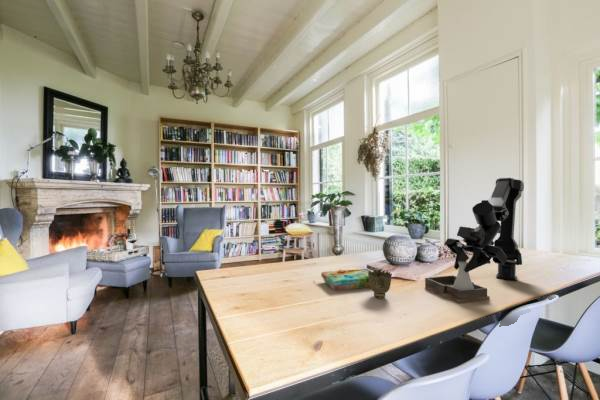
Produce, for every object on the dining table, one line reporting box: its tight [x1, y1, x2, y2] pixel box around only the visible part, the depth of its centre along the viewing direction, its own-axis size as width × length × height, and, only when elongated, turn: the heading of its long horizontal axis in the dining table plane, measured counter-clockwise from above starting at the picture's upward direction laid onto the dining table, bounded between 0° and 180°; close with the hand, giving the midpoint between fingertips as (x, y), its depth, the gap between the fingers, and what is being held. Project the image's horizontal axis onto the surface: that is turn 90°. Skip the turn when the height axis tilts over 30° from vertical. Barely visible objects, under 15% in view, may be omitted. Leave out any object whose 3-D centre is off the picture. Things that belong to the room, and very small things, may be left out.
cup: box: [368, 269, 393, 299], centre depth 93 cm, size 8×7×8 cm
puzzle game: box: [321, 268, 374, 291], centre depth 106 cm, size 12×5×20 cm
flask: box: [453, 261, 474, 291], centre depth 93 cm, size 7×7×10 cm
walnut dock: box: [424, 274, 491, 304], centre depth 96 cm, size 15×12×4 cm
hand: (460, 269), depth 92 cm, fingers open, 3 cm apart
